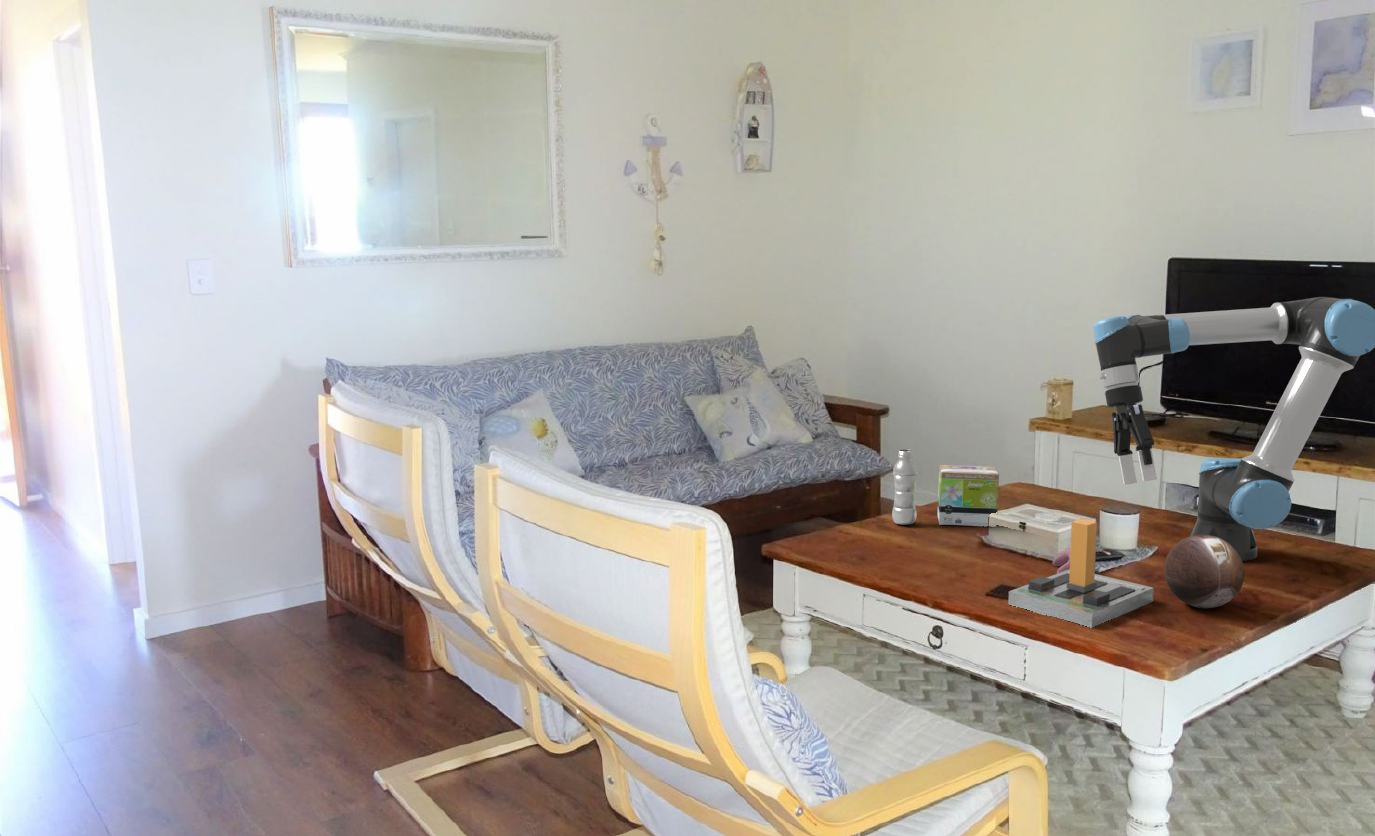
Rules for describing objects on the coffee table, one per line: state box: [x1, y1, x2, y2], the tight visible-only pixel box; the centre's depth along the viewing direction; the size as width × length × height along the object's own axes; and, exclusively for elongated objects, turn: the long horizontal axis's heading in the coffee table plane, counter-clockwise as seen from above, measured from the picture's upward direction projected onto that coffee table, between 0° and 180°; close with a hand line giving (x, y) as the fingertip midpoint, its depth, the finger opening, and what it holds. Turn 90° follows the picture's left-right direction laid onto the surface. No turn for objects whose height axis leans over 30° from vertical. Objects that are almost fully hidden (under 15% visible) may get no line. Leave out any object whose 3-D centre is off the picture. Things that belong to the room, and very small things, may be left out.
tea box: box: [937, 464, 1000, 528], centre depth 305 cm, size 15×10×15 cm, turn 80°
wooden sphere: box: [1163, 535, 1245, 609], centre depth 235 cm, size 15×15×15 cm
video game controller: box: [1052, 546, 1071, 574], centre depth 260 cm, size 10×5×7 cm, turn 169°
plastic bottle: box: [891, 448, 918, 526], centre depth 303 cm, size 6×7×20 cm
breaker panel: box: [1007, 569, 1155, 629], centre depth 239 cm, size 24×19×5 cm
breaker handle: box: [1067, 518, 1098, 593], centre depth 237 cm, size 5×4×14 cm
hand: (1140, 482), depth 250 cm, fingers open, 13 cm apart
